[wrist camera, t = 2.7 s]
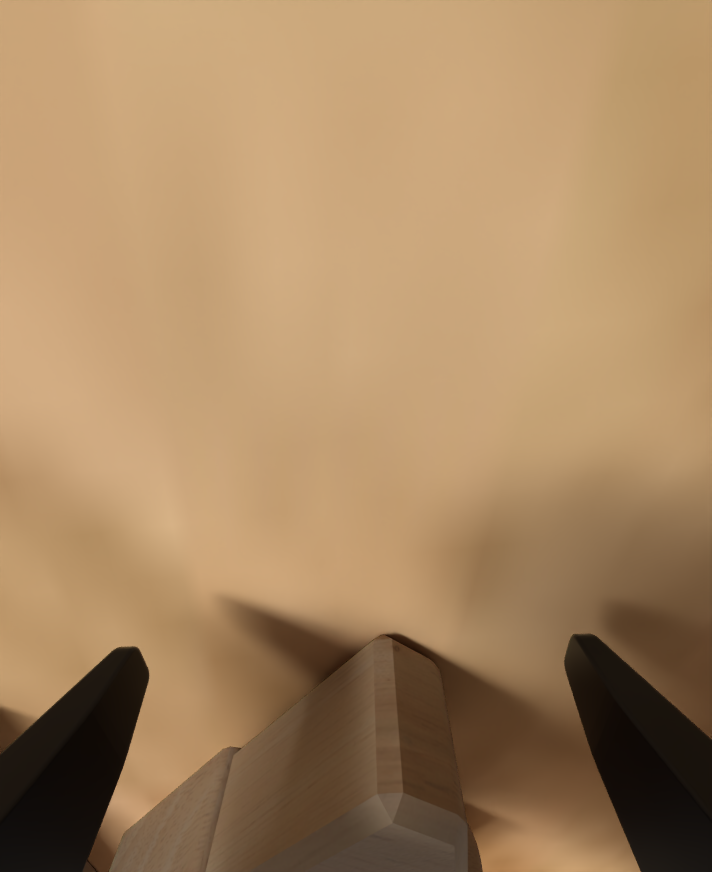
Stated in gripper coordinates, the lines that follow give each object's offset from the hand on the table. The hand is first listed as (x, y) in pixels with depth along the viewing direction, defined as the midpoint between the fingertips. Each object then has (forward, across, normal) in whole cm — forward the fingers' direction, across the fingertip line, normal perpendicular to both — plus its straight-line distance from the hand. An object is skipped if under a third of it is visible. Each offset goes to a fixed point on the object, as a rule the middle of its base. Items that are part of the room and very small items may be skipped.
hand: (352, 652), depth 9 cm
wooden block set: (+3, -1, +14) cm, 14 cm away
